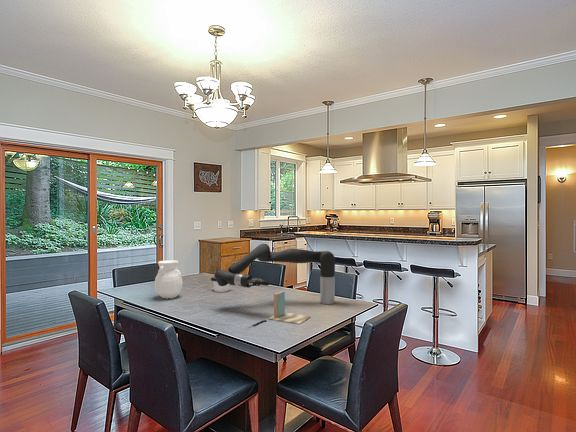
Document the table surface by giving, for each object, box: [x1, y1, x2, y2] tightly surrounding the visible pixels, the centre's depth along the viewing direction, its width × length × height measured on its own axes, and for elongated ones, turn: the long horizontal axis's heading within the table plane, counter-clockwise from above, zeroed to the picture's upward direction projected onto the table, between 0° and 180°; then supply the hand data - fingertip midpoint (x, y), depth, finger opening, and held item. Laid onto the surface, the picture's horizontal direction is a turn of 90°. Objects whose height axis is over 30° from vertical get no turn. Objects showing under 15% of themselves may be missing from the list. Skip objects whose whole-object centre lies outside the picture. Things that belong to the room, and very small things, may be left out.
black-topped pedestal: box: [210, 273, 230, 293], centre depth 266 cm, size 28×26×13 cm
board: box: [268, 312, 311, 325], centre depth 198 cm, size 19×14×1 cm
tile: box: [273, 290, 286, 318], centre depth 201 cm, size 2×8×13 cm, turn 152°
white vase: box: [153, 259, 183, 300], centre depth 247 cm, size 19×18×25 cm
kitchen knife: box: [246, 319, 268, 330], centre depth 180 cm, size 29×1×10 cm
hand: (268, 283), depth 204 cm, fingers closed
